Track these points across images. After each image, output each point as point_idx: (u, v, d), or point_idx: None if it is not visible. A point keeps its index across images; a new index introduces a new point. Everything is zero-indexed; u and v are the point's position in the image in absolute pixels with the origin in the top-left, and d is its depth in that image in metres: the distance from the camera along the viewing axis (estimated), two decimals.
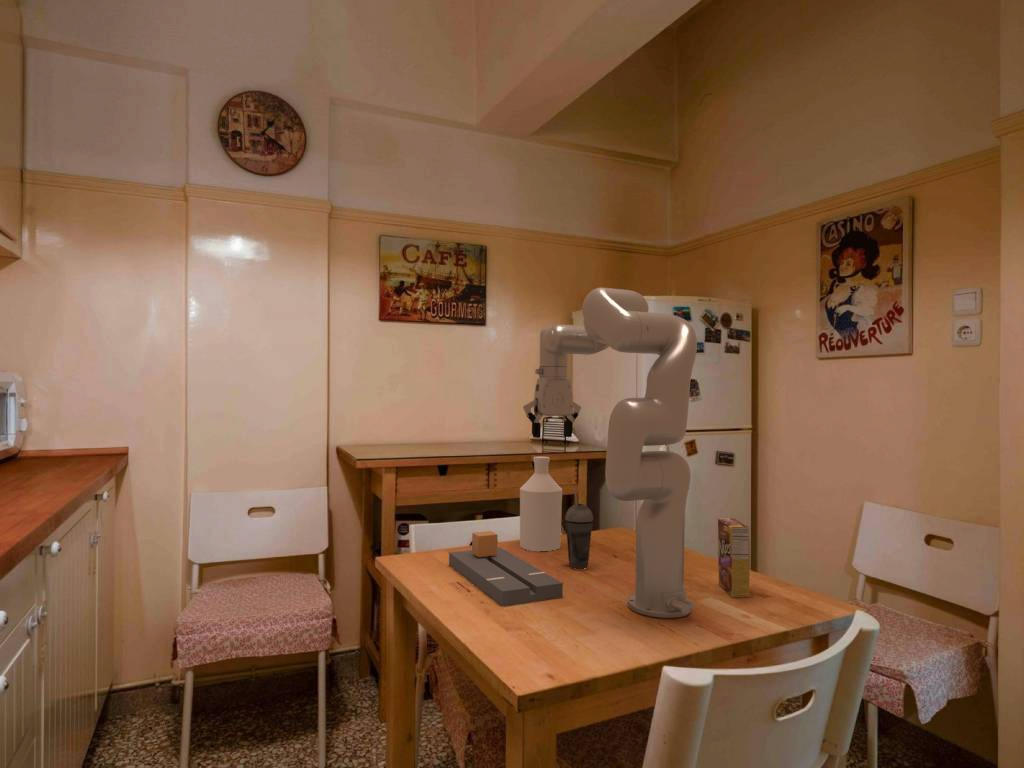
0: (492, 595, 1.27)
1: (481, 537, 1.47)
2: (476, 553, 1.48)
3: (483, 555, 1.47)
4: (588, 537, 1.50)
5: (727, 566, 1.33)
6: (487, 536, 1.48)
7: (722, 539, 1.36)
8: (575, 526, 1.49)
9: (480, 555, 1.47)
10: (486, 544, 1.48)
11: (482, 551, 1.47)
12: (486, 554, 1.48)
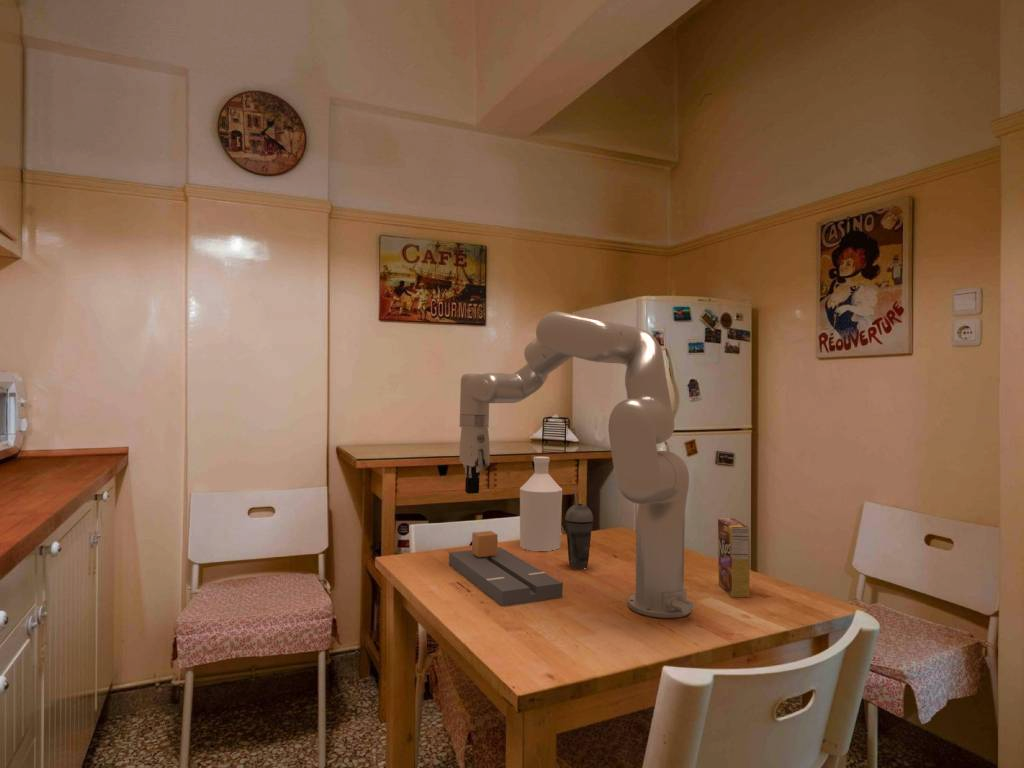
0: (492, 595, 1.27)
1: (481, 537, 1.47)
2: (476, 553, 1.48)
3: (483, 555, 1.47)
4: (588, 537, 1.50)
5: (727, 566, 1.33)
6: (487, 536, 1.48)
7: (722, 539, 1.36)
8: (575, 526, 1.49)
9: (480, 555, 1.47)
10: (486, 544, 1.48)
11: (482, 551, 1.47)
12: (486, 554, 1.48)
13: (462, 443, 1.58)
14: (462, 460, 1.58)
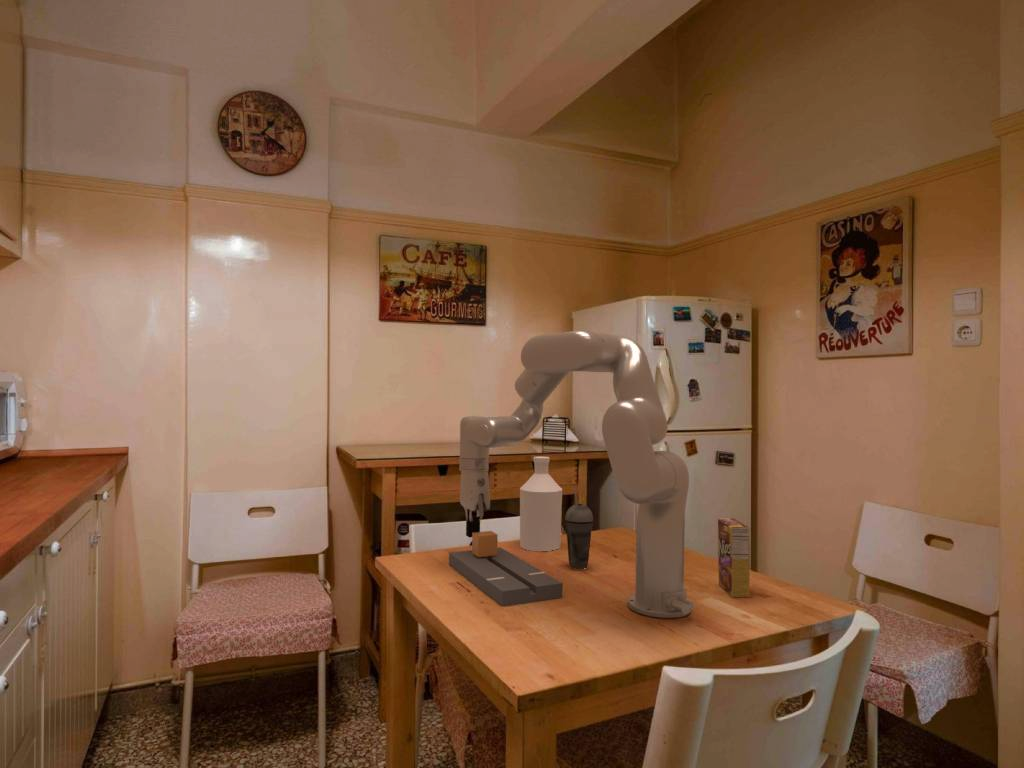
0: (492, 595, 1.27)
1: (481, 537, 1.47)
2: (476, 553, 1.48)
3: (483, 555, 1.47)
4: (588, 537, 1.50)
5: (727, 566, 1.33)
6: (487, 536, 1.48)
7: (722, 539, 1.36)
8: (575, 526, 1.49)
9: (480, 555, 1.47)
10: (486, 544, 1.48)
11: (482, 551, 1.47)
12: (486, 554, 1.48)
13: (462, 486, 1.57)
14: (462, 503, 1.58)
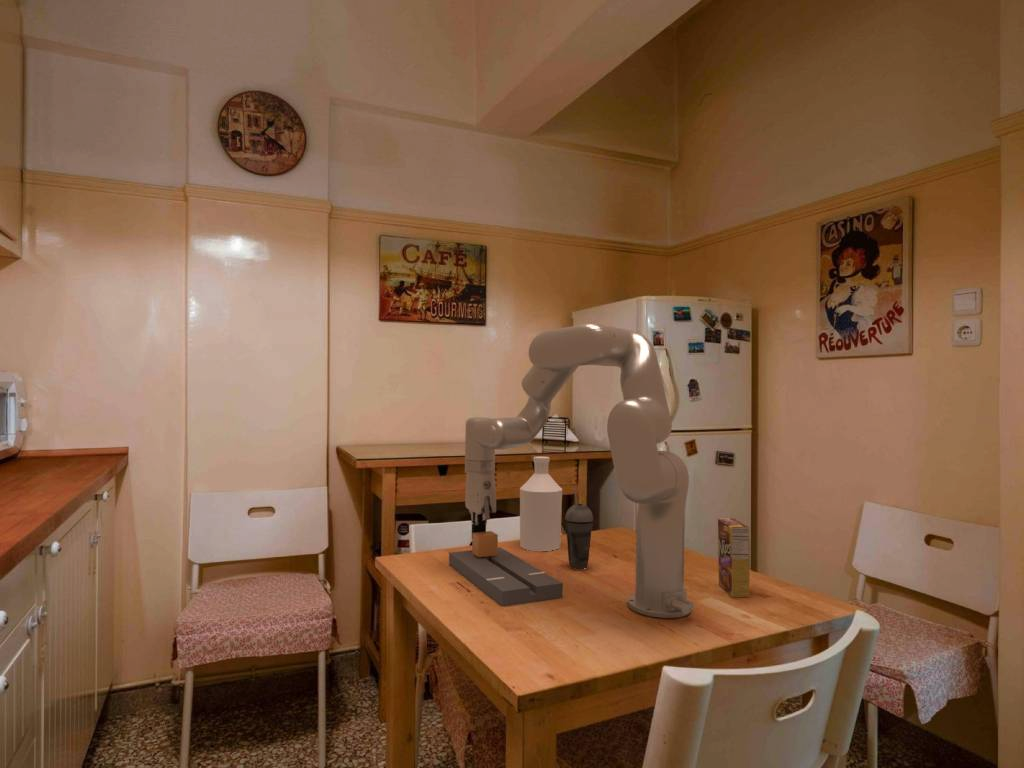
0: (492, 595, 1.27)
1: (481, 537, 1.47)
2: (476, 553, 1.48)
3: (483, 555, 1.47)
4: (588, 537, 1.50)
5: (727, 566, 1.33)
6: (487, 536, 1.48)
7: (722, 539, 1.36)
8: (575, 526, 1.49)
9: (480, 555, 1.47)
10: (486, 545, 1.47)
11: (483, 551, 1.47)
12: (486, 554, 1.47)
13: (468, 489, 1.54)
14: (468, 506, 1.54)
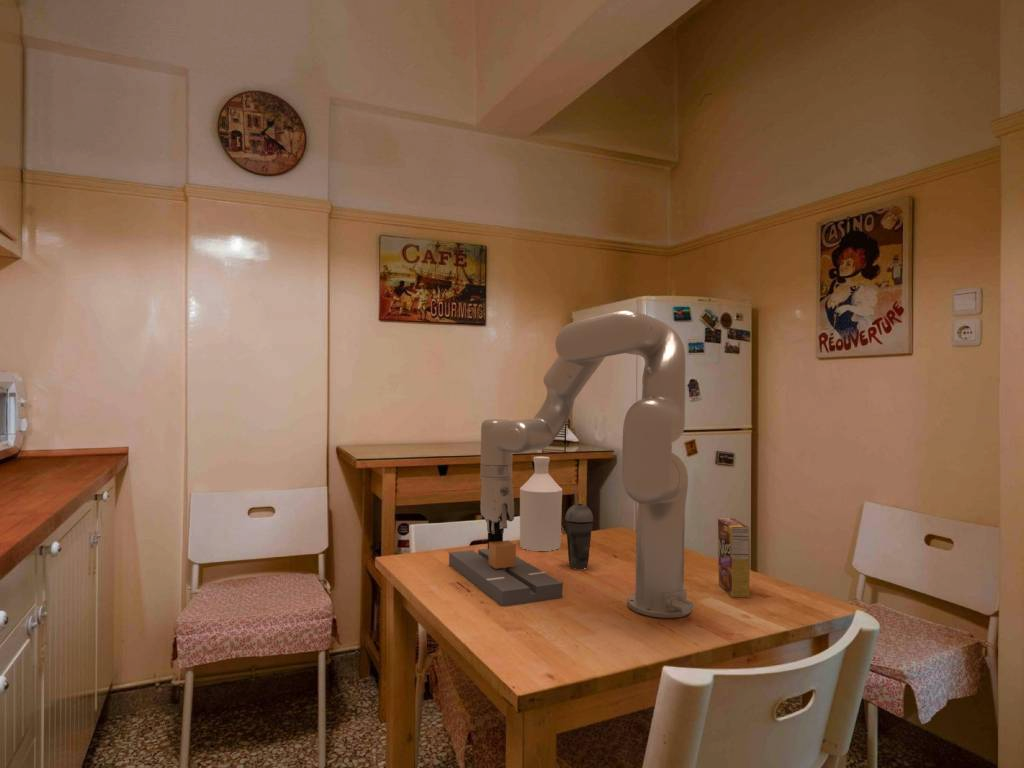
0: (492, 595, 1.27)
1: (499, 547, 1.38)
2: (493, 564, 1.38)
3: (501, 566, 1.38)
4: (588, 537, 1.50)
5: (727, 566, 1.33)
6: (505, 546, 1.38)
7: (722, 539, 1.36)
8: (575, 526, 1.49)
9: (497, 566, 1.38)
10: (504, 555, 1.38)
11: (500, 562, 1.38)
12: (504, 565, 1.38)
13: (483, 495, 1.44)
14: (484, 514, 1.45)
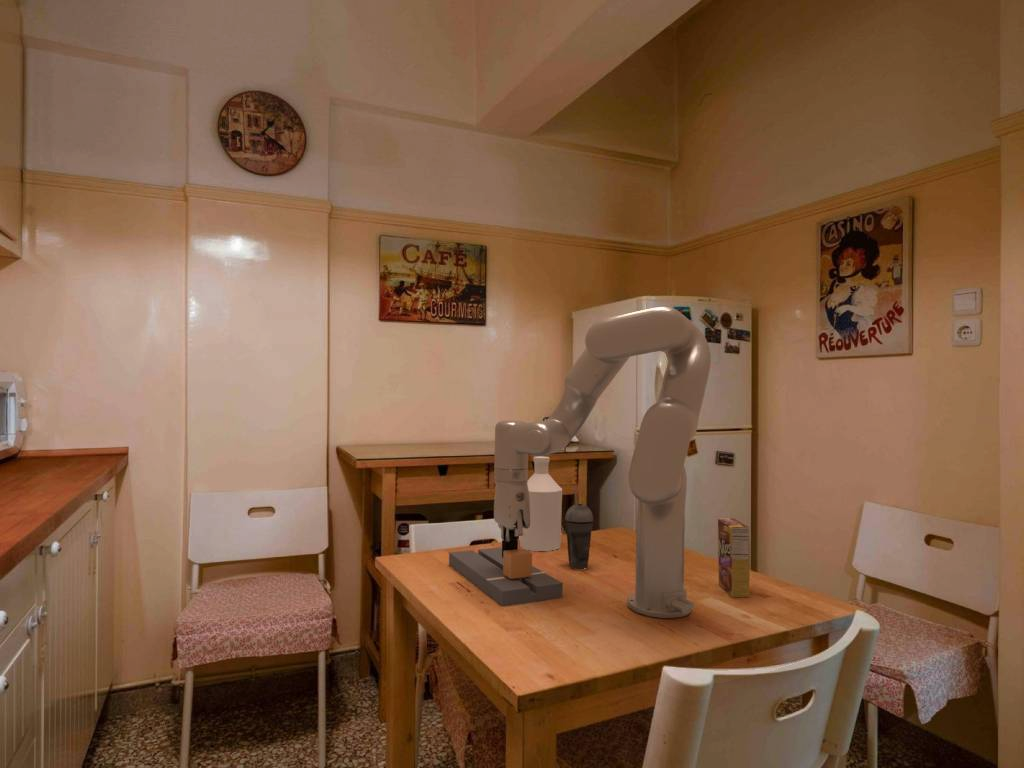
0: (492, 595, 1.27)
1: (514, 556, 1.30)
2: (508, 574, 1.31)
3: (516, 576, 1.31)
4: (588, 537, 1.50)
5: (727, 566, 1.33)
6: (521, 555, 1.31)
7: (722, 539, 1.36)
8: (575, 526, 1.49)
9: (513, 576, 1.30)
10: (519, 564, 1.31)
11: (516, 572, 1.31)
12: (520, 575, 1.31)
13: (497, 501, 1.37)
14: (497, 520, 1.38)
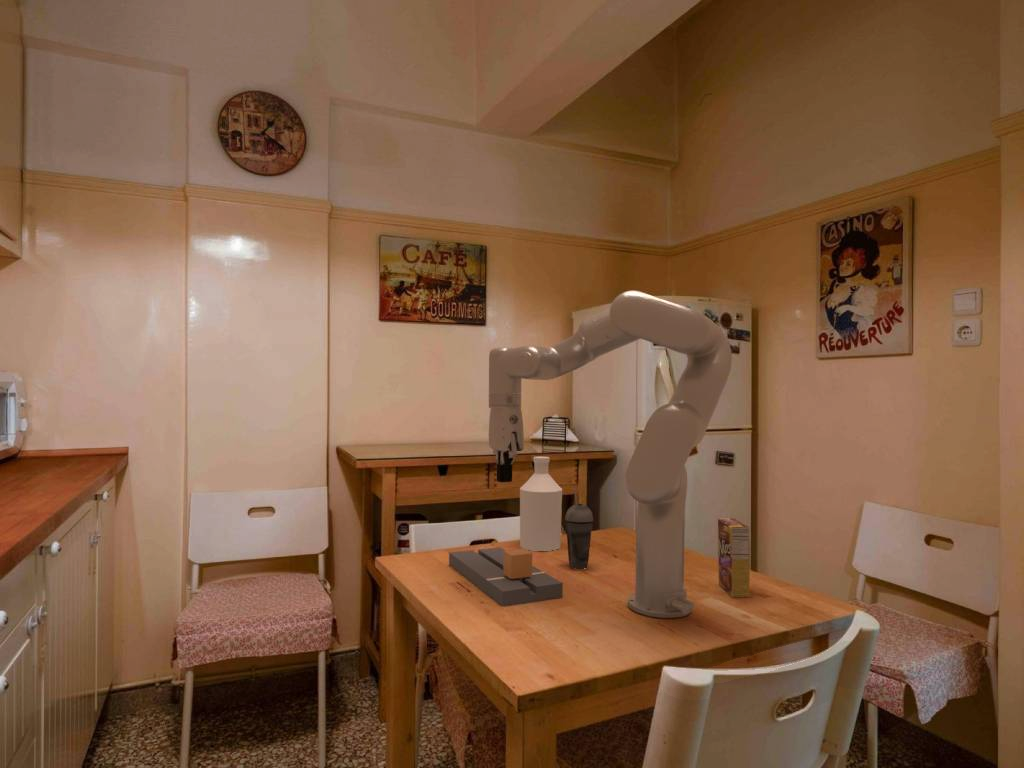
0: (492, 595, 1.27)
1: (514, 556, 1.30)
2: (508, 574, 1.31)
3: (516, 577, 1.30)
4: (588, 537, 1.50)
5: (727, 566, 1.33)
6: (521, 555, 1.31)
7: (722, 539, 1.36)
8: (575, 526, 1.49)
9: (513, 577, 1.30)
10: (520, 565, 1.31)
11: (516, 572, 1.30)
12: (520, 575, 1.31)
13: (492, 426, 1.41)
14: (492, 445, 1.41)
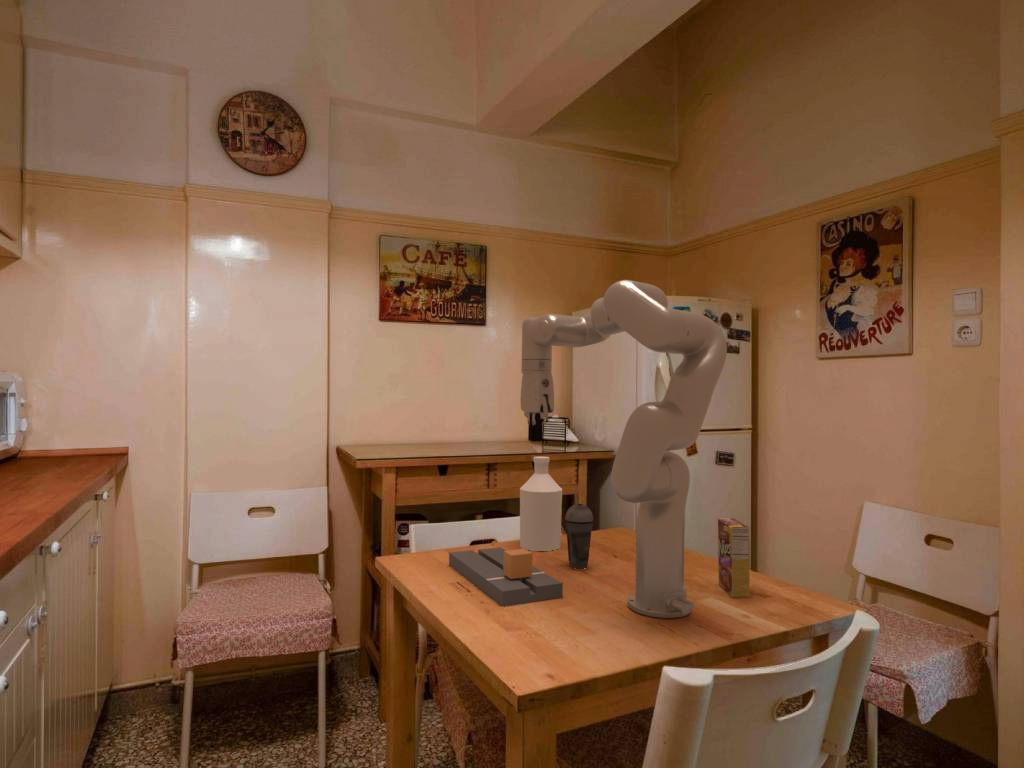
0: (492, 595, 1.27)
1: (514, 556, 1.30)
2: (508, 574, 1.31)
3: (516, 577, 1.30)
4: (588, 537, 1.50)
5: (727, 566, 1.33)
6: (521, 555, 1.31)
7: (722, 539, 1.36)
8: (575, 526, 1.49)
9: (513, 577, 1.30)
10: (520, 565, 1.31)
11: (516, 572, 1.30)
12: (520, 575, 1.31)
13: (524, 390, 1.53)
14: (524, 408, 1.53)
